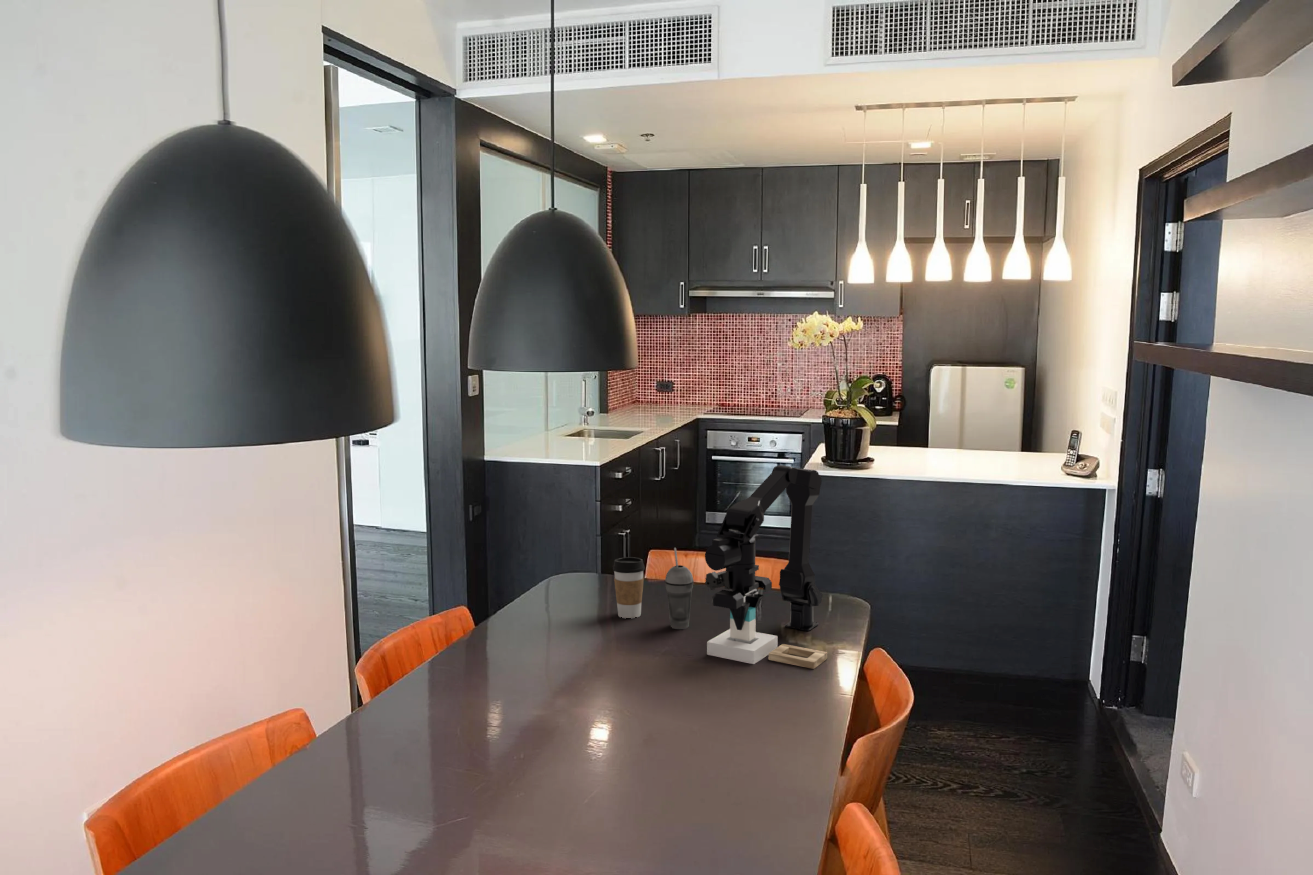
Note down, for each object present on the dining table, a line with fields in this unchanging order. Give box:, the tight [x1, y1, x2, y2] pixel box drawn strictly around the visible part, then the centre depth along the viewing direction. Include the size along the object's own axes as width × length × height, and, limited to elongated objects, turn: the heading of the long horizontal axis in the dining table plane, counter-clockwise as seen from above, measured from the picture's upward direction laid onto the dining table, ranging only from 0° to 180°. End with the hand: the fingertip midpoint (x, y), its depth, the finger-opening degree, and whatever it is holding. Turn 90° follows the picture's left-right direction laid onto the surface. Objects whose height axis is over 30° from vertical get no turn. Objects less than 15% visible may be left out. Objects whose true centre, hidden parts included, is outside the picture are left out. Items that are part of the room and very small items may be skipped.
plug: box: [729, 607, 757, 641], centre depth 216 cm, size 3×5×7 cm, turn 57°
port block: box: [706, 628, 779, 665], centre depth 217 cm, size 12×12×3 cm
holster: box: [768, 643, 828, 670], centre depth 211 cm, size 7×11×2 cm
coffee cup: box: [612, 556, 646, 619], centre depth 244 cm, size 8×8×15 cm
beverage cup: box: [664, 547, 695, 630], centre depth 234 cm, size 7×7×20 cm
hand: (742, 627), depth 216 cm, fingers closed on plug, 3 cm apart
